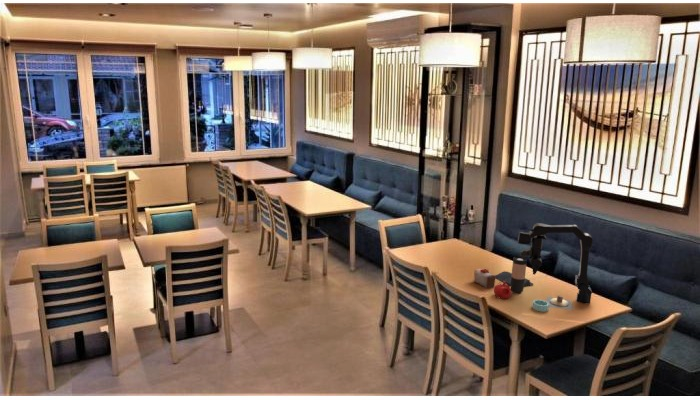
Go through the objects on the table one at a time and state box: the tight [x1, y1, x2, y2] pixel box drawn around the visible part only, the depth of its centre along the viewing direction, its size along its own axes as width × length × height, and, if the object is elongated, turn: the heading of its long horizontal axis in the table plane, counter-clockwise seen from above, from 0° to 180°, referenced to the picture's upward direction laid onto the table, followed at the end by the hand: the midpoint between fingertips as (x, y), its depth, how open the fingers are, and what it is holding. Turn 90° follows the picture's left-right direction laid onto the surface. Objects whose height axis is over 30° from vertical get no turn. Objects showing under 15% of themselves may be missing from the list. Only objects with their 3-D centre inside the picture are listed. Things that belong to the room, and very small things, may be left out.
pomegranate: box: [493, 281, 513, 300], centre depth 293 cm, size 10×10×9 cm
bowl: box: [531, 299, 550, 313], centre depth 278 cm, size 8×8×4 cm
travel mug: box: [510, 256, 528, 294], centre depth 301 cm, size 8×8×20 cm
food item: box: [473, 268, 496, 290], centre depth 310 cm, size 14×8×10 cm, turn 25°
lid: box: [551, 295, 568, 307], centre depth 285 cm, size 9×9×4 cm
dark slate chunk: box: [494, 271, 534, 287], centre depth 317 cm, size 15×22×5 cm
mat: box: [545, 296, 574, 311], centre depth 286 cm, size 13×14×1 cm
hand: (533, 271), depth 294 cm, fingers open, 9 cm apart
